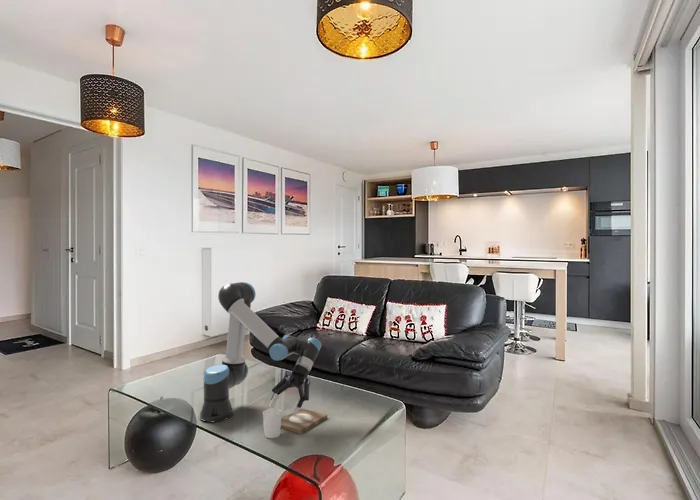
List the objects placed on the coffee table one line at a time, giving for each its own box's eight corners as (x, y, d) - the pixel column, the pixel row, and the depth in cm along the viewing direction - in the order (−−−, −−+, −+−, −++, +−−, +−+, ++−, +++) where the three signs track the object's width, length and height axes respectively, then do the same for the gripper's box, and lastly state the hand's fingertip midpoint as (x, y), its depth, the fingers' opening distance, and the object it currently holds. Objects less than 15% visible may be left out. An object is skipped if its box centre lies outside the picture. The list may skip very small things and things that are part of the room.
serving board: (300, 433, 166) (300, 430, 166) (273, 425, 174) (273, 422, 174) (327, 417, 183) (327, 414, 183) (301, 411, 191) (301, 407, 191)
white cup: (282, 430, 169) (282, 407, 169) (280, 438, 161) (279, 415, 162) (264, 431, 169) (264, 408, 169) (261, 439, 161) (261, 415, 161)
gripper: (327, 376, 177) (308, 420, 164) (286, 369, 190) (265, 409, 177) (320, 367, 173) (299, 412, 160) (278, 360, 186) (256, 402, 173)
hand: (281, 411), depth 168 cm, fingers open, 13 cm apart
